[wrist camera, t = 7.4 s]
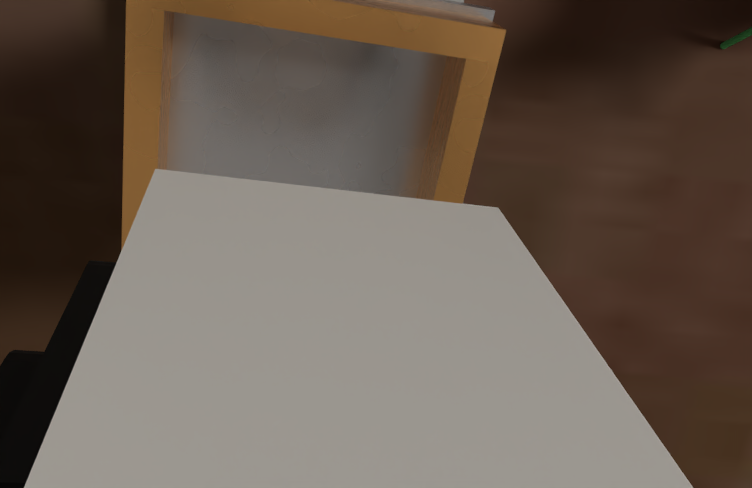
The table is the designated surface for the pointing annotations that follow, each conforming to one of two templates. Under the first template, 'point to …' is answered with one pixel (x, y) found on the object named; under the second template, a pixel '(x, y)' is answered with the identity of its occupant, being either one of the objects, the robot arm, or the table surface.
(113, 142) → the table surface
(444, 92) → the grey and orange container
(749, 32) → the lily
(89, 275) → the robot arm
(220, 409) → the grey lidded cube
